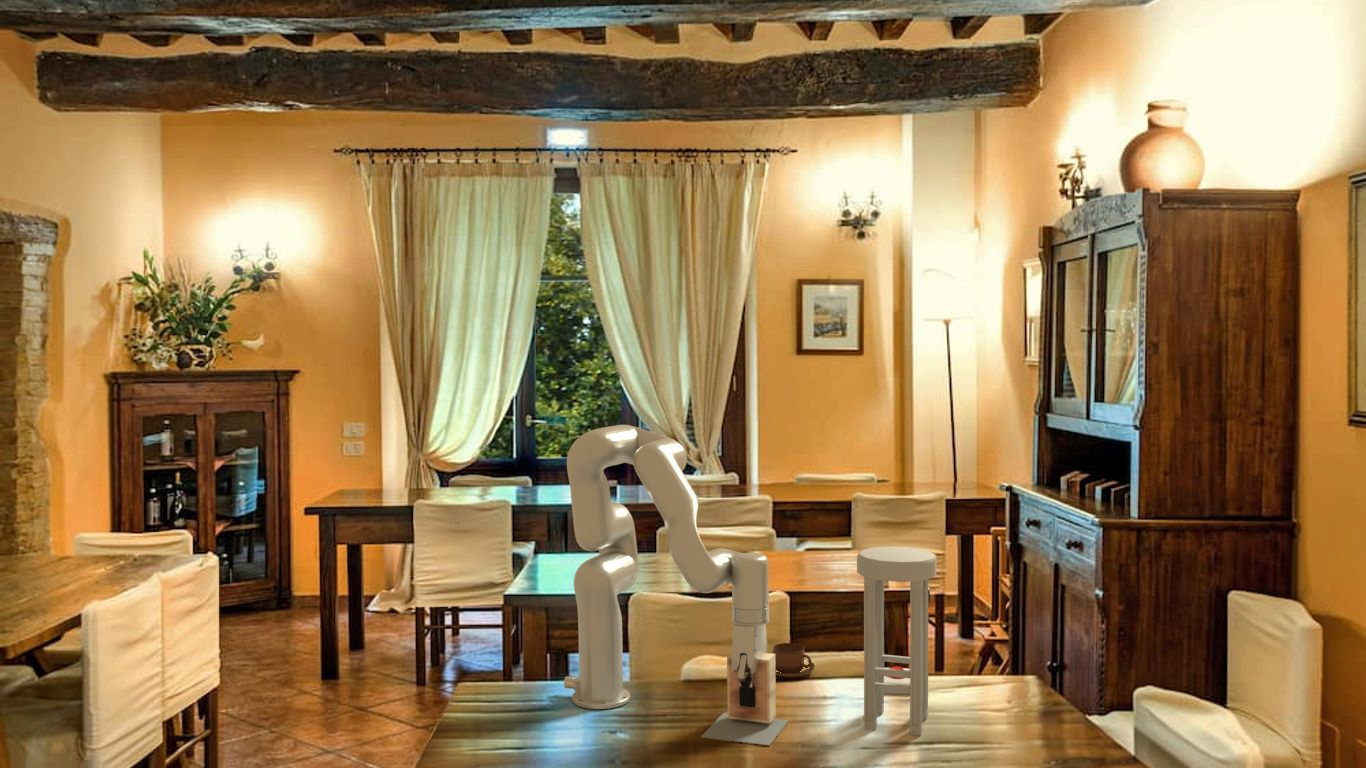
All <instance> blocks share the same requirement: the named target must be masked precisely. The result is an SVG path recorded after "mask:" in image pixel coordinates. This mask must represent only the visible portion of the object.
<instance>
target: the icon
mask: <svg viewBox="0 0 1366 768" xmlns="http://www.w3.org/2000/svg"><path fill="white" fill-rule="evenodd" d="M888 668H889V669H899V670H910V668H908V667H905V668H903V667H901V666H891V667H888ZM884 683H889V684H899V685H908V686H910V678H900V677H890V676H884ZM884 694H886V695H907V696H908V695H909V696H910V693H906V692H896V691H887V690H884Z"/></svg>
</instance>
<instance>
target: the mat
mask: <svg viewBox="0 0 1366 768" xmlns="http://www.w3.org/2000/svg"><path fill="white" fill-rule="evenodd" d="M788 723H789V720H788V719H780V718H774V719H773V720H772V721H771V723H762V722H754V721H746V720H738V719H730V718H728V712H723V713H722V714H720V716H719V717H718V718H717V719H716V720H715V721H714V722H713V724H711V726H710V727H708V728H707V730H706V731H704V733H703V734H702V735H701V738H702V739H711V740H717V741H725V742H731V741H732V742H733V741H734V742H733V743H739V742H742V743H741V744H746V743H747V745H754V744H761V745H770V744H771V743H772V742H774V741H775V740H776V739H777V737H778V736H779V735H780V733H781V732H782V731H783V729H784V728H785V727H786V726H787V724H788ZM785 725H786V726H785ZM781 730H782V731H781ZM778 734H779V735H778ZM777 735H778V736H777ZM776 736H777V737H776ZM775 738H776V739H775ZM774 739H775V740H774ZM772 744H773V743H772ZM772 744H771V745H772ZM761 745H760V746H761ZM771 745H770V746H771Z"/></svg>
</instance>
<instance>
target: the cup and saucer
mask: <svg viewBox="0 0 1366 768" xmlns="http://www.w3.org/2000/svg"><path fill="white" fill-rule="evenodd" d="M772 652H773V653H772V654H775V668H776V670H777V671H779V672H776V677H779V678H780V677H782V678H800V677H804V676H807V675H808V674H809V675H810V674H811V673H812V672H813V671H814V670H815V664H814V663H813V661H812V659H811V657H810V656H809V655H808V654H805V646H804V645H802V644H799V643H793V642H783V643H782V642H781V643H777V644H774V645H773V647H772ZM805 658H807V659H806V660H807V661H808V662H809V664H808V665H805V664H804V660H805ZM803 667H805V668H808V667H810V668H809V669H806V670H804V671H802V672H800V671H801V670H802V669H803ZM780 672H781V673H780Z"/></svg>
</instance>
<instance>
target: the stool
mask: <svg viewBox="0 0 1366 768" xmlns="http://www.w3.org/2000/svg"><path fill="white" fill-rule="evenodd" d="M937 560H938V559H937V554H935V553H933V552H931V551H929V550H927V549H921V548H917V547H911V546H910V547H909V546H894V545H893V546H892V545H891V546H876V547H868V548H865V549H861V551H859V553H858V554H857V555H856V573H857V574H859V575H860V576H862V577H863V627H864V628H863V720H864V721H863V729H864V730H869V729H872V730H871V731H875V730H876V729H877V727H878V715H880V716H883V714H884V711H885V695H884V690H887V691H896V692H906V693H910V695H909V735H913V736H922V735H923V730H924V729H923V728H924V727H923V722H924V721H925V720H928V717H929V580H930V579H934V578H935V577H936V576H937V572H938V571H937ZM885 582H896V583H905V582H906V583H907V582H909V583H910V584H909V587H910V589H909V593H910V594H909V598H910V599H909V603H910V604H909V605H910V607H909V629H910V630H909V631H910V632H909V634H910V635H909V641H910V642H909V656H904V655H903V656H901V655H891V654H885V636H884V635H885V633H884V632H885ZM885 662H886V663H887V662H888V663H895V664H896V663H897V664H898V663H899V664H909V669H910V670H899V669H889V668H890V667H885ZM884 676H890V677H900V678H910V686H908V685H899V684H889V683H884ZM923 720H924V721H923Z"/></svg>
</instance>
